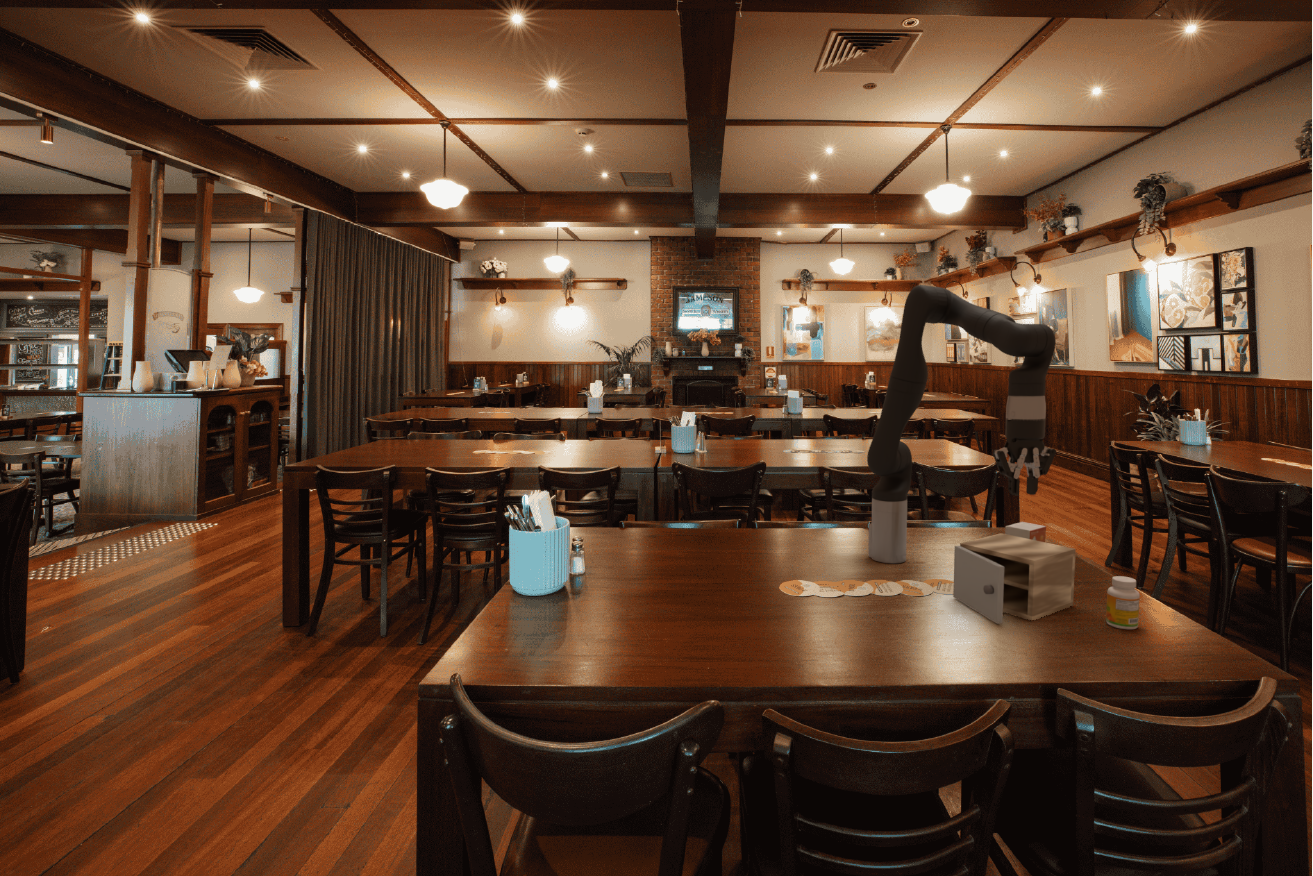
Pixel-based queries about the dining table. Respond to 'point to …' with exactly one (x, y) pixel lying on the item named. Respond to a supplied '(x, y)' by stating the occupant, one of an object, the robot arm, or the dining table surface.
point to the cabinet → (1030, 573)
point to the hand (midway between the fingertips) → (1022, 494)
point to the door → (979, 583)
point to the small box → (1027, 531)
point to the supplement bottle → (1123, 603)
